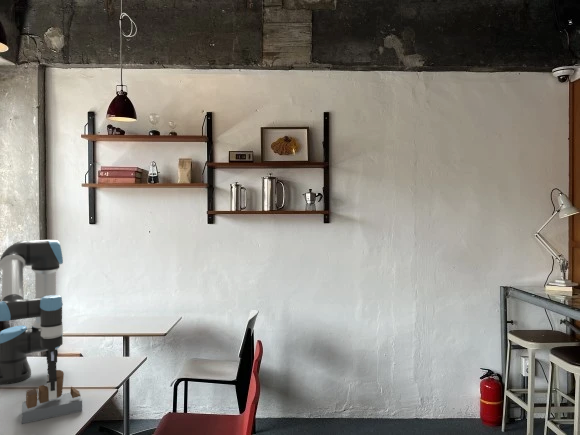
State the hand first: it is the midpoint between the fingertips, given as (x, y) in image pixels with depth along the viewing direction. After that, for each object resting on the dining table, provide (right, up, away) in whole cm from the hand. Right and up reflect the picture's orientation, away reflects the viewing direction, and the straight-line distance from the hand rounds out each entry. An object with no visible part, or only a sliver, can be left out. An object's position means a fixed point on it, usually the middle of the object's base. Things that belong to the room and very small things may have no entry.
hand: (52, 394), depth 169 cm
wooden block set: (+1, -2, -1) cm, 3 cm away
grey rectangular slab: (0, -7, 0) cm, 7 cm away
